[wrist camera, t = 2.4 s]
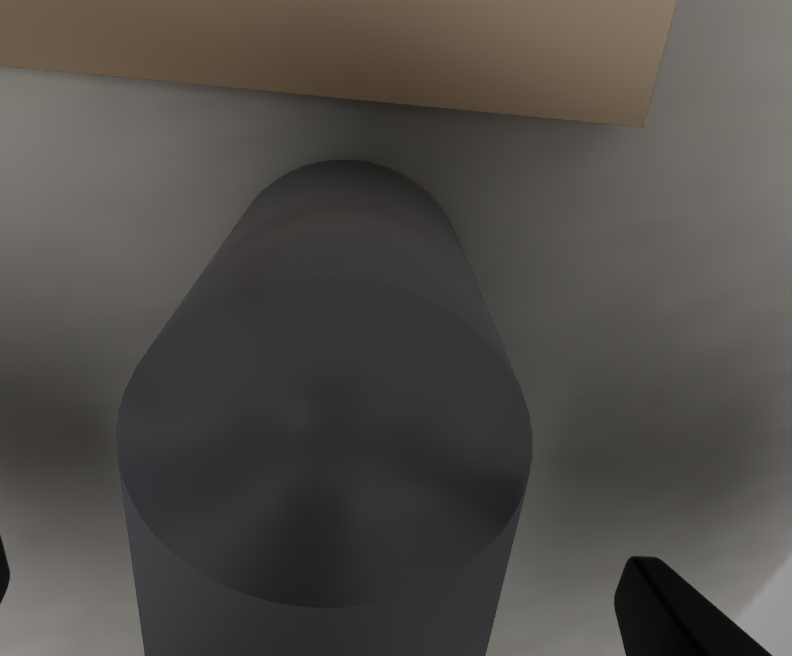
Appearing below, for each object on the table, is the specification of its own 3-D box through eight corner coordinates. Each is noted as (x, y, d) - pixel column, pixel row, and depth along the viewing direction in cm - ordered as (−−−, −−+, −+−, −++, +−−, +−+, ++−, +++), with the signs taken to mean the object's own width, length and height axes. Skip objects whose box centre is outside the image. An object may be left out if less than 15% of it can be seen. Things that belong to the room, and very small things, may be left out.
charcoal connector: (402, 669, 15) (415, 939, 11) (241, 664, 15) (184, 941, 10) (479, 171, 10) (572, 292, 5) (226, 148, 9) (90, 257, 5)
